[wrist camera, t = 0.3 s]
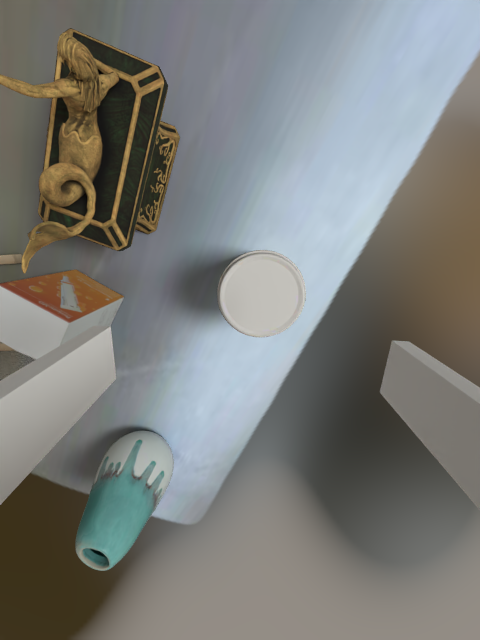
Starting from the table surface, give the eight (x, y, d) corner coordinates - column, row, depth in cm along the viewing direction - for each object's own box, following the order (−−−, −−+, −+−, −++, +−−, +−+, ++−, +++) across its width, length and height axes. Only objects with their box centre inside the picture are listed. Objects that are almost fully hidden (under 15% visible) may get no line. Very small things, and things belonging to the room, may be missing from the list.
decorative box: (114, 86, 32) (-74, -127, 13) (190, 118, 33) (115, -39, 14) (85, 247, 38) (-74, 258, 19) (150, 270, 39) (59, 304, 20)
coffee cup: (258, 322, 41) (262, 356, 29) (212, 280, 39) (197, 300, 27) (302, 277, 38) (326, 295, 27) (256, 231, 37) (260, 229, 25)
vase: (116, 467, 50) (49, 587, 33) (115, 417, 47) (40, 521, 30) (177, 475, 50) (141, 597, 33) (181, 425, 47) (143, 534, 30)
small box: (125, 296, 40) (70, 323, 27) (109, 329, 42) (51, 369, 29) (75, 267, 39) (-6, 282, 26) (60, 303, 40) (-22, 333, 28)
